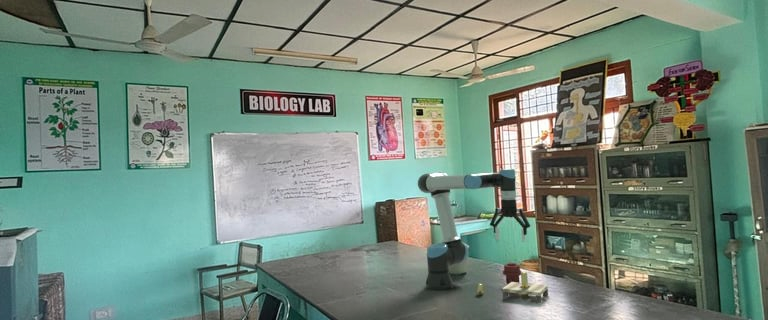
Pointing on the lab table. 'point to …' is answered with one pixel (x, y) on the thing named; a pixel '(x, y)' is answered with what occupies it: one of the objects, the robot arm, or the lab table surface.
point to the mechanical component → (512, 272)
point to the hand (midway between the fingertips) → (510, 240)
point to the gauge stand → (526, 290)
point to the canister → (459, 266)
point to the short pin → (480, 289)
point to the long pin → (524, 283)
